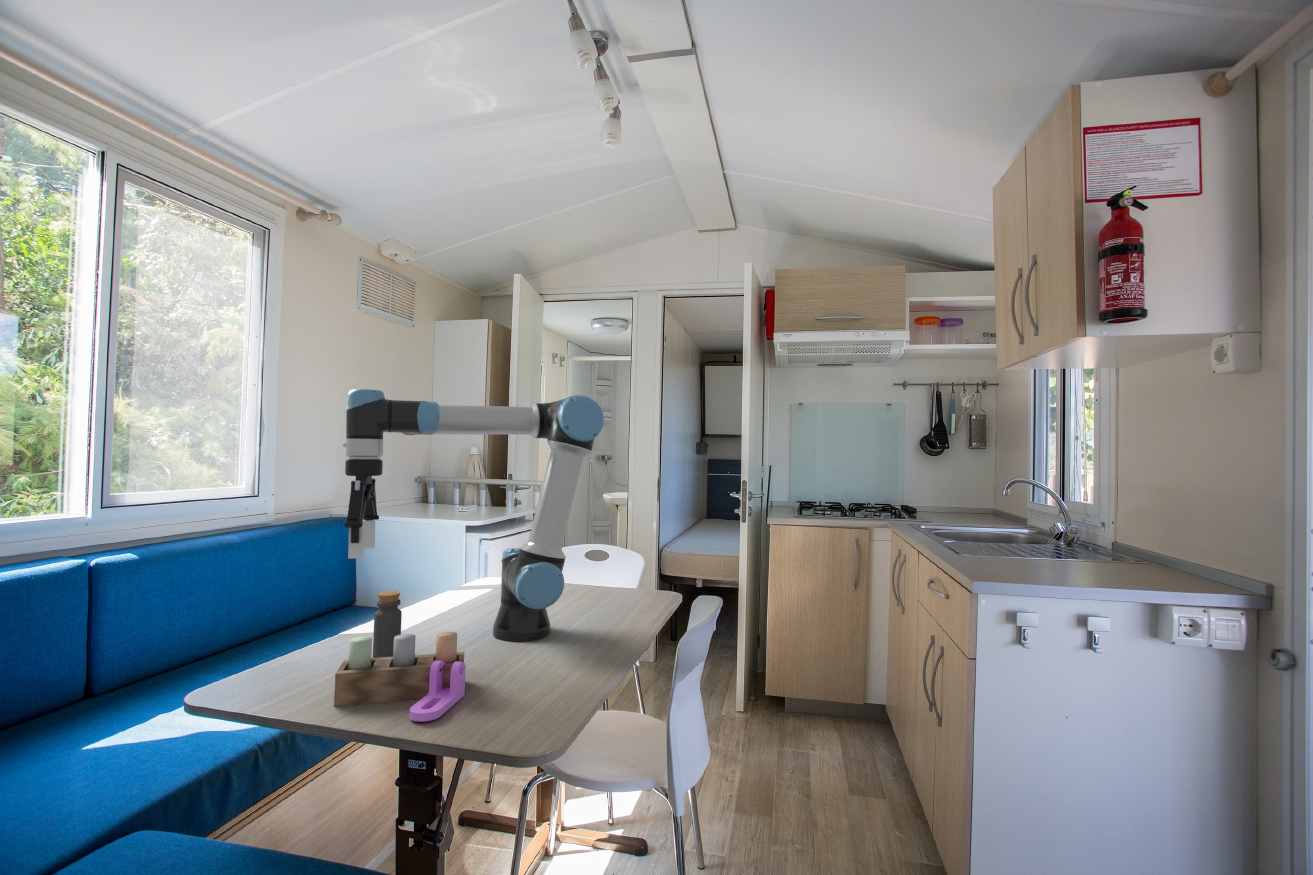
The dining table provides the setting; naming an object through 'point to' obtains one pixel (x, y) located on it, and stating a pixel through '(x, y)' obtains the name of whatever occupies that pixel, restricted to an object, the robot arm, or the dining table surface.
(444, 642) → the brown egg
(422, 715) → the bracket
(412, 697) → the walnut rack
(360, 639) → the green rounded cylinder
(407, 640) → the grey rounded cylinder
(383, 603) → the bottle
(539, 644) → the dining table surface
